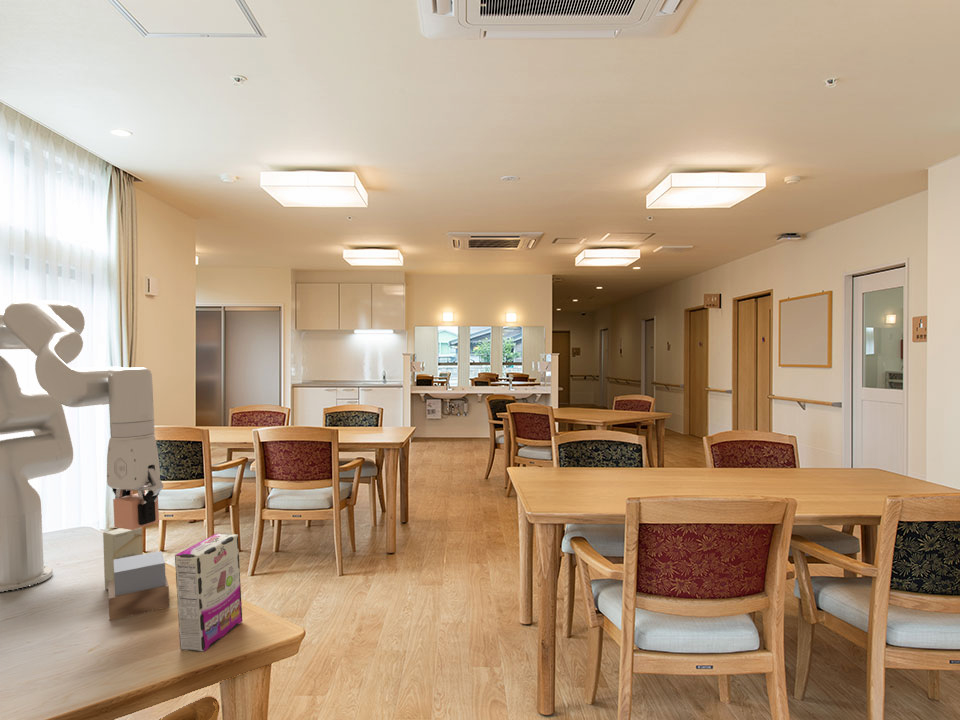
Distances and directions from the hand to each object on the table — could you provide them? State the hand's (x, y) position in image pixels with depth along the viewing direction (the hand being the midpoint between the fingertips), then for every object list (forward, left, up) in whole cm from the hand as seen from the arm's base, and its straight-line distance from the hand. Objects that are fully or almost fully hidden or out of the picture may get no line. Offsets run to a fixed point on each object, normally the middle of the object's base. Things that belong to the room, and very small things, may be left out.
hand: (136, 520), depth 118 cm
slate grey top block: (0, 0, -13) cm, 13 cm away
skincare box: (-7, +11, -17) cm, 21 cm away
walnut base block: (0, 0, -17) cm, 17 cm away
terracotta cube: (0, 0, -1) cm, 1 cm away
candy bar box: (+18, -17, -17) cm, 30 cm away
